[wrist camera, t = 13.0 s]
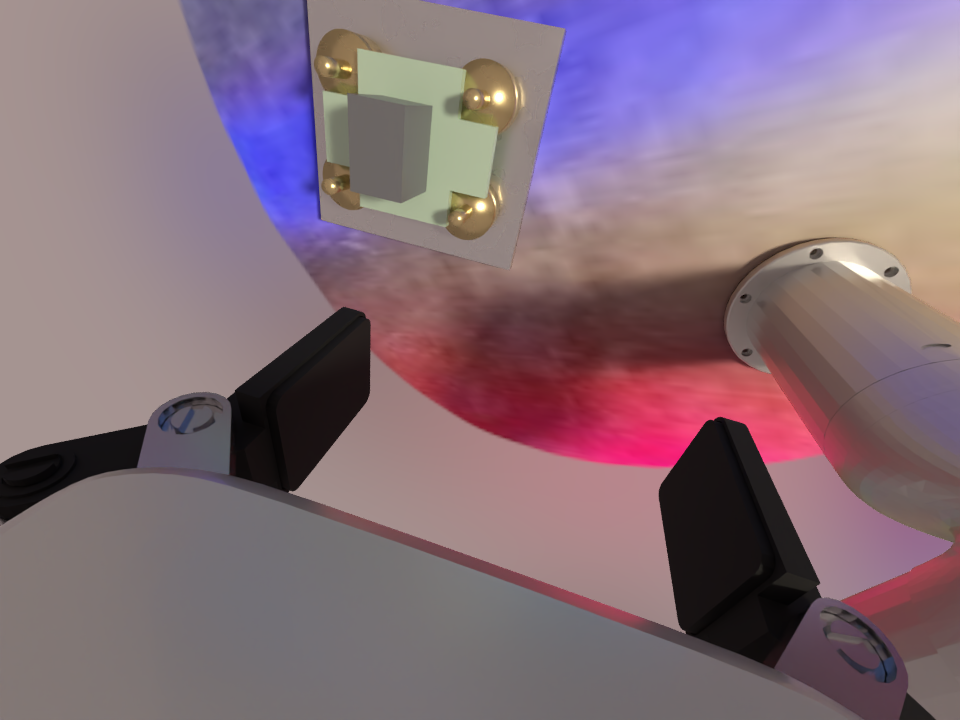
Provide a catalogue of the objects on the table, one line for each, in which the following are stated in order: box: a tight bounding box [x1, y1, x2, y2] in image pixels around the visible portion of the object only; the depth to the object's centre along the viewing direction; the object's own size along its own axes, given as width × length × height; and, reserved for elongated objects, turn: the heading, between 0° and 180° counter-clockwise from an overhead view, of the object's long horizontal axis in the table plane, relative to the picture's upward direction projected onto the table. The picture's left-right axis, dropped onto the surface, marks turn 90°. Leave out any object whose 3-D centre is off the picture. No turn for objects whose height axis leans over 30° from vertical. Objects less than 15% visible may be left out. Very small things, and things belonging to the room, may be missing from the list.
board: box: [323, 48, 499, 227], centre depth 29 cm, size 14×11×6 cm
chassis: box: [307, 0, 566, 270], centre depth 31 cm, size 20×18×7 cm
